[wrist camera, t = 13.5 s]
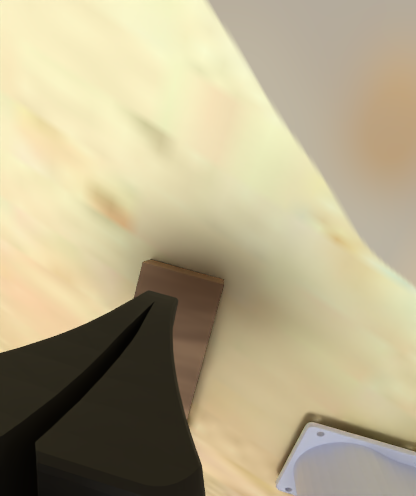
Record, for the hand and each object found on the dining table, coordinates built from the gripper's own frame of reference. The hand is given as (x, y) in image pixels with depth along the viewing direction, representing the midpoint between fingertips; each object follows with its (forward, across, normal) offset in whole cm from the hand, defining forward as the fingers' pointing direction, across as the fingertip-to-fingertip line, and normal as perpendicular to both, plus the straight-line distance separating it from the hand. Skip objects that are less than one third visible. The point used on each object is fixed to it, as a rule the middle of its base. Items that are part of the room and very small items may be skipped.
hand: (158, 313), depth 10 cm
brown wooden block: (+5, 0, 0) cm, 5 cm away
